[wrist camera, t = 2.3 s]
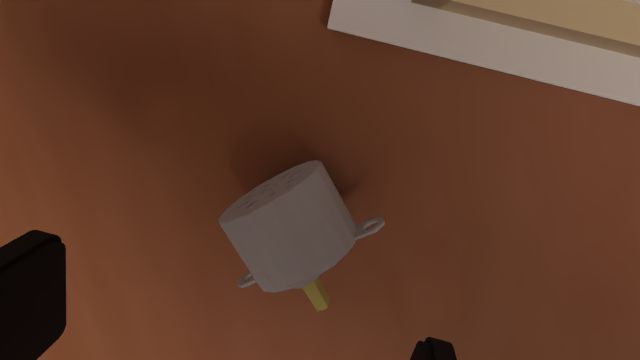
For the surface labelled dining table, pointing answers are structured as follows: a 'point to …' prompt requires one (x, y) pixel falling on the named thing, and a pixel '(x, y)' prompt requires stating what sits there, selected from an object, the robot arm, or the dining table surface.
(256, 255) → the electric motor
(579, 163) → the dining table surface
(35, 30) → the dining table surface
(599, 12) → the mounting board
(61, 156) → the dining table surface
